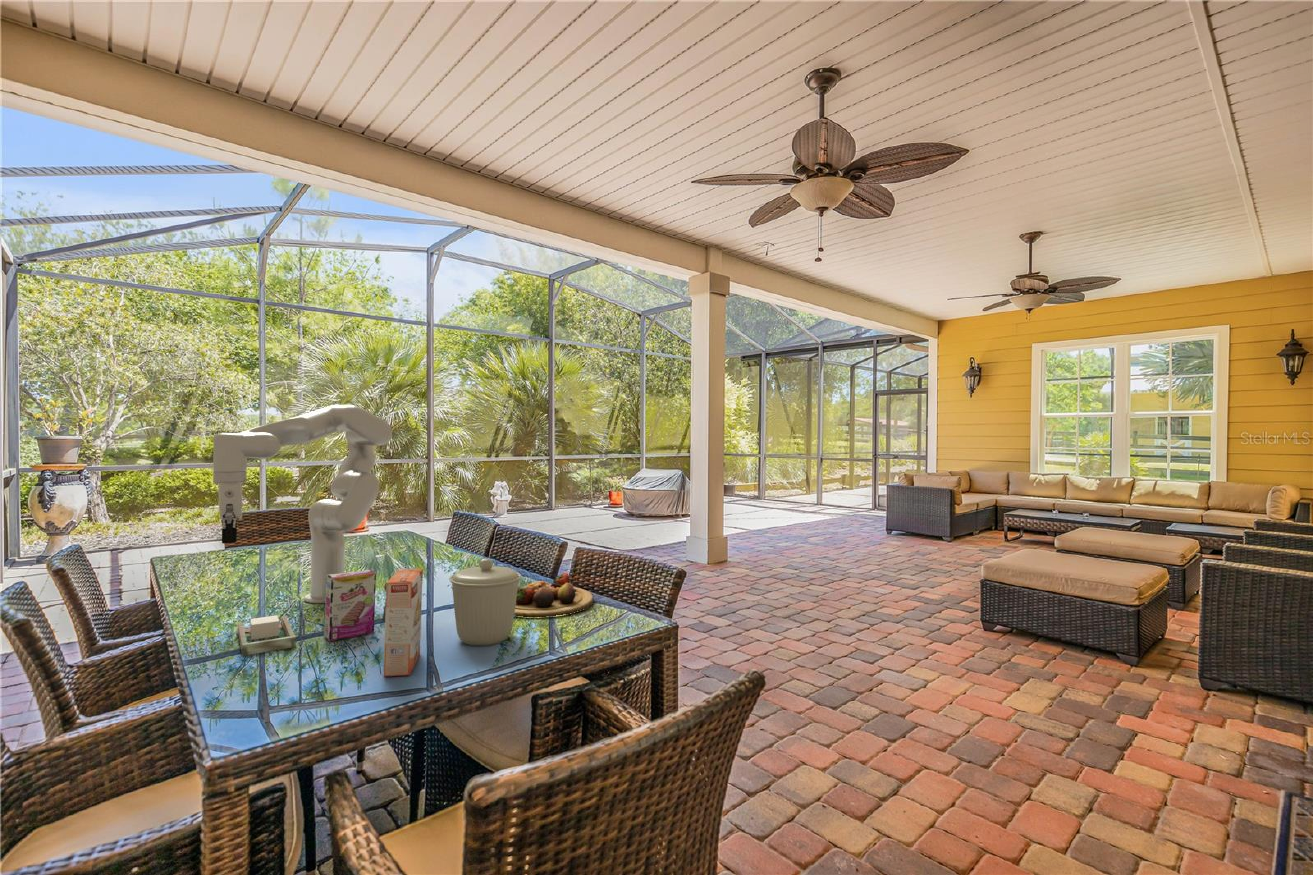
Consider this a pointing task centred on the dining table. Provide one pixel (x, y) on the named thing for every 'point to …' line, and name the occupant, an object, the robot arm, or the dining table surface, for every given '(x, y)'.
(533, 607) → the wooden plate with food
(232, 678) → the dining table surface
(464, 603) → the canister
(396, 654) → the cracker box
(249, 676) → the dining table surface
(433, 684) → the dining table surface
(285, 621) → the finger lane
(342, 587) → the candy bar box
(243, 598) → the dining table surface
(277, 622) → the cream block
